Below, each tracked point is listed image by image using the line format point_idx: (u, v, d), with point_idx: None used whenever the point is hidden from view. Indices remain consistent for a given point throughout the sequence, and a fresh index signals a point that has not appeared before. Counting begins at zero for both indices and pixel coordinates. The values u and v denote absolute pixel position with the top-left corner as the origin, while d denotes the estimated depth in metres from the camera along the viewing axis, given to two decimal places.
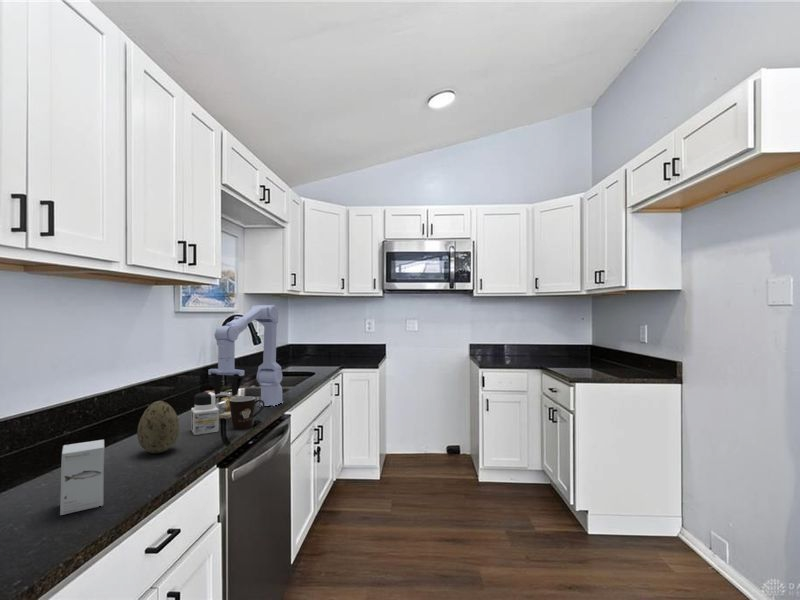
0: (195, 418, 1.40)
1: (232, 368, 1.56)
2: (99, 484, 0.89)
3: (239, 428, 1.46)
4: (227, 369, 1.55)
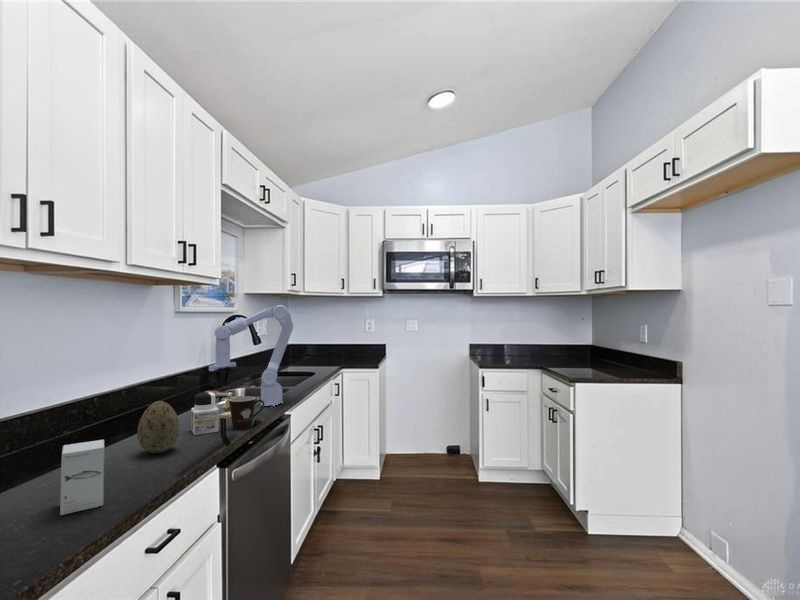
0: (195, 418, 1.40)
1: (218, 363, 1.77)
2: (100, 484, 0.89)
3: (239, 428, 1.46)
4: None
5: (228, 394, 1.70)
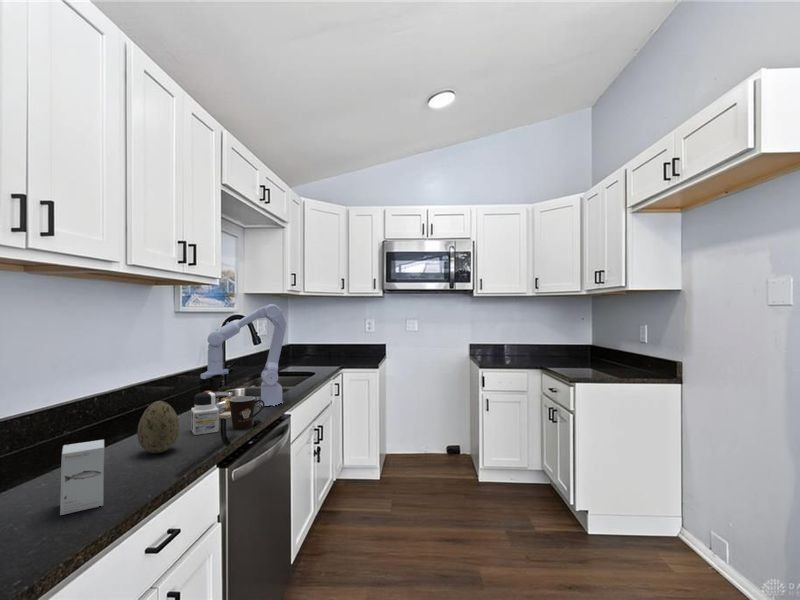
0: (195, 418, 1.40)
1: (210, 371, 1.72)
2: (99, 484, 0.89)
3: (239, 428, 1.46)
4: None
5: (228, 394, 1.70)
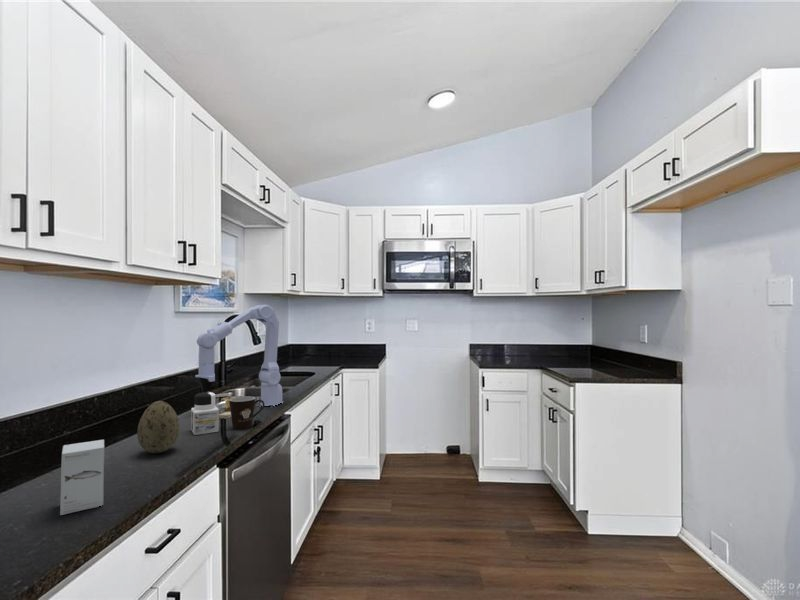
0: (195, 418, 1.40)
1: (208, 373, 1.65)
2: (99, 484, 0.89)
3: (239, 428, 1.46)
4: (202, 374, 1.64)
5: (231, 394, 1.70)
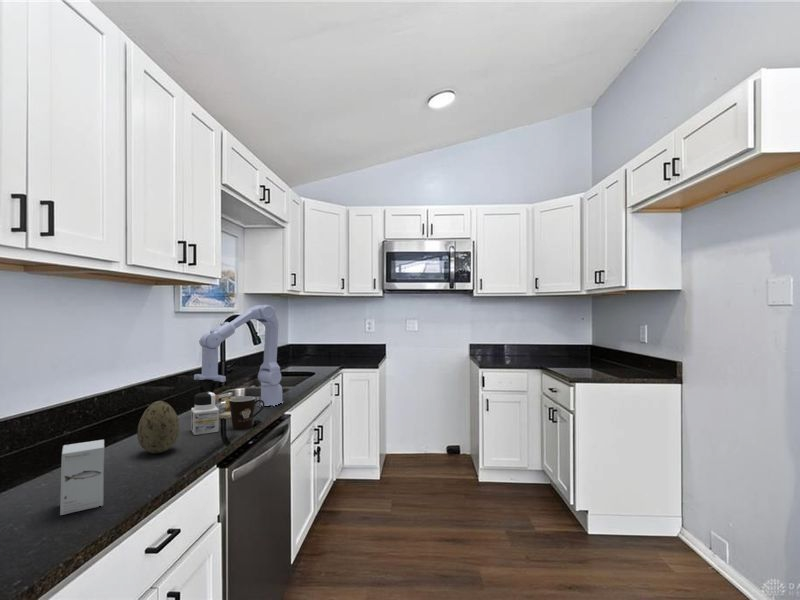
0: (195, 418, 1.40)
1: (214, 374, 1.63)
2: (99, 484, 0.89)
3: (239, 428, 1.46)
4: (209, 375, 1.61)
5: (231, 394, 1.70)
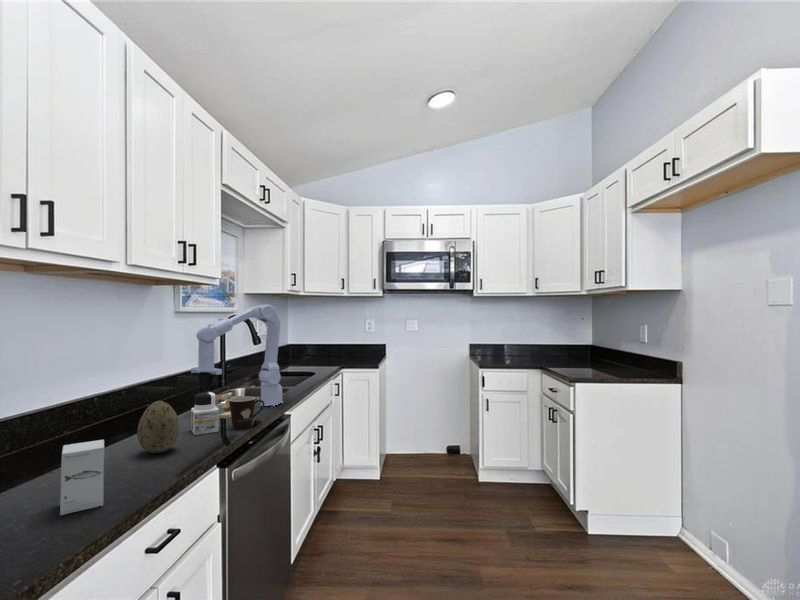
0: (195, 418, 1.40)
1: (211, 367, 1.65)
2: (99, 484, 0.89)
3: (239, 428, 1.46)
4: (206, 368, 1.64)
5: (232, 393, 1.71)
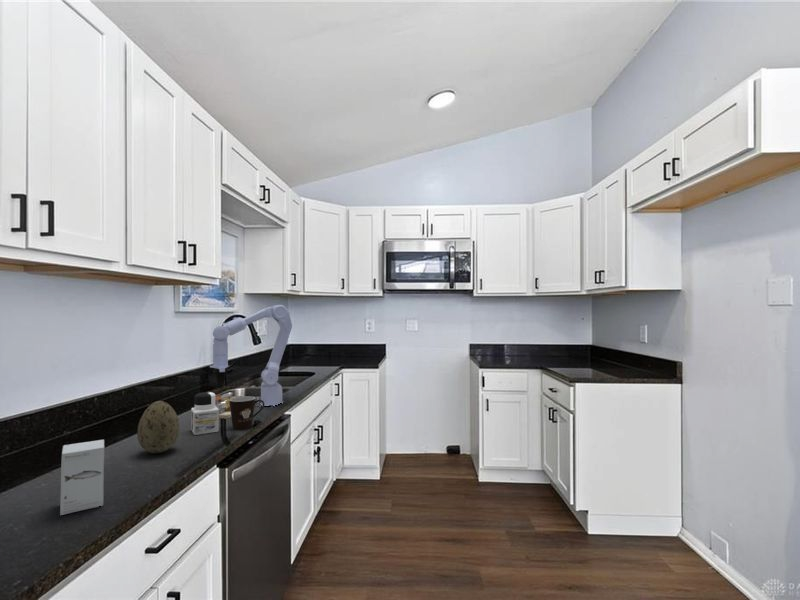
0: (195, 418, 1.40)
1: (220, 364, 1.73)
2: (99, 484, 0.89)
3: (239, 428, 1.46)
4: (215, 365, 1.73)
5: (232, 393, 1.71)
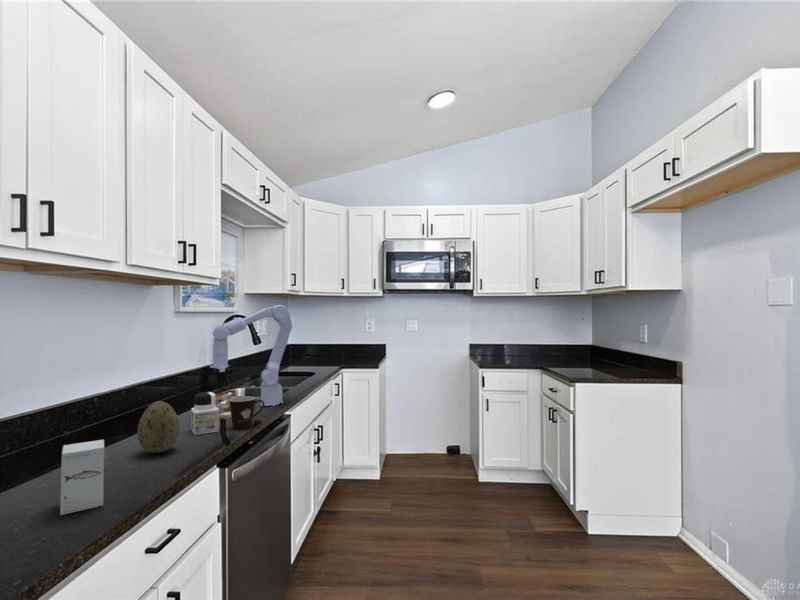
0: (195, 418, 1.40)
1: (220, 364, 1.73)
2: (99, 484, 0.89)
3: (239, 428, 1.46)
4: (215, 365, 1.73)
5: (232, 393, 1.71)
